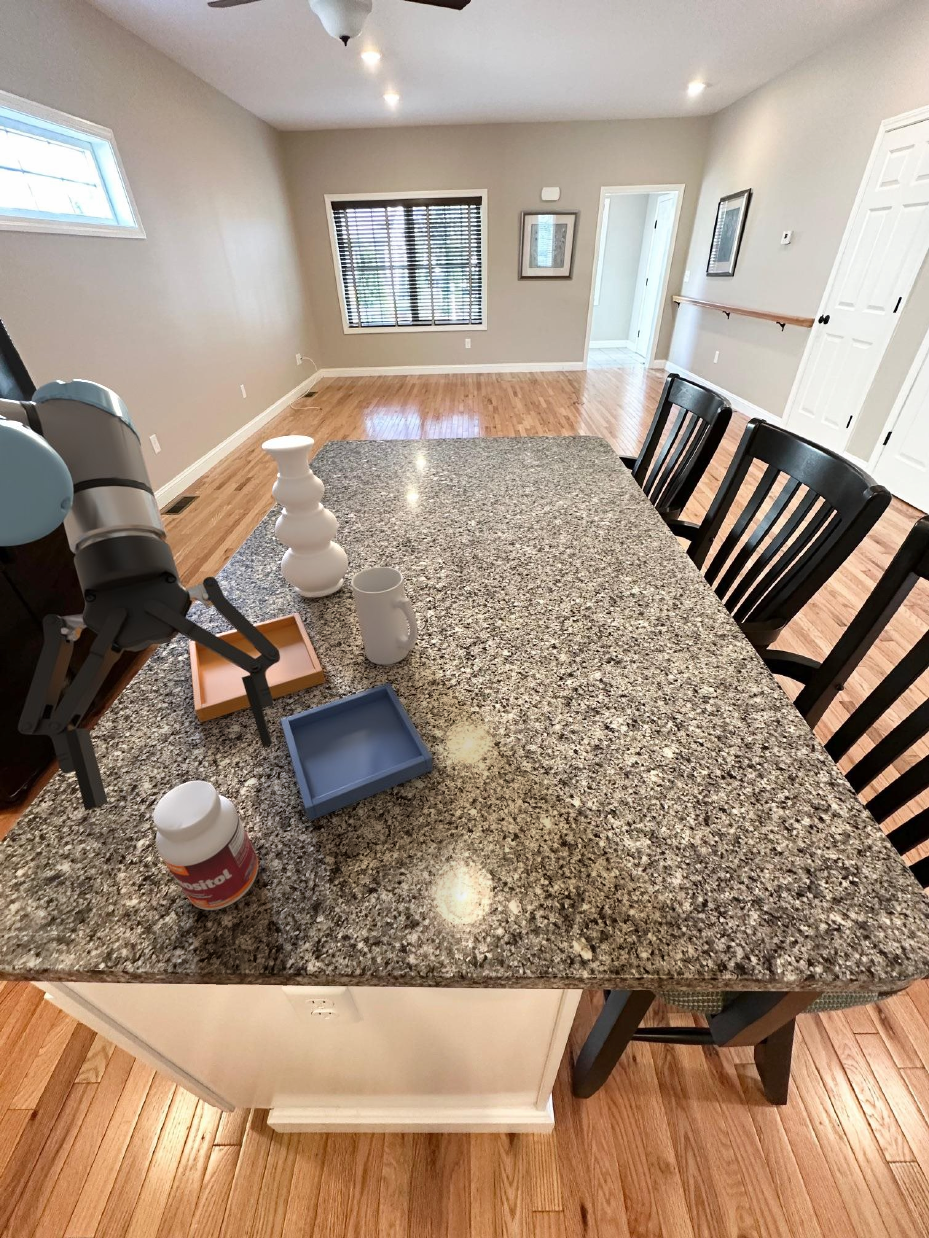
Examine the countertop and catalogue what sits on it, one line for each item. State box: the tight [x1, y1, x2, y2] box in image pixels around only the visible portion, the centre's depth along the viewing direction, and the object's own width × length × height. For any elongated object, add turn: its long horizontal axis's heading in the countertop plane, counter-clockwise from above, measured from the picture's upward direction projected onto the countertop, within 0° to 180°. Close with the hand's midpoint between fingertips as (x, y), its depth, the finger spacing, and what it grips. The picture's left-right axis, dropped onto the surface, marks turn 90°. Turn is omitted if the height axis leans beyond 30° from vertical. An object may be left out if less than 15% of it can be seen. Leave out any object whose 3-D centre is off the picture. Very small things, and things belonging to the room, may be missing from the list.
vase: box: [261, 435, 349, 598], centre depth 82 cm, size 11×11×25 cm
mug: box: [350, 566, 419, 666], centre depth 69 cm, size 10×7×12 cm, turn 49°
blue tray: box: [280, 682, 434, 822], centre depth 58 cm, size 14×14×2 cm
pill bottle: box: [152, 780, 259, 911], centre depth 44 cm, size 6×6×11 cm
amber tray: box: [188, 612, 326, 723], centre depth 71 cm, size 16×16×2 cm
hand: (187, 774), depth 44 cm, fingers open, 13 cm apart
